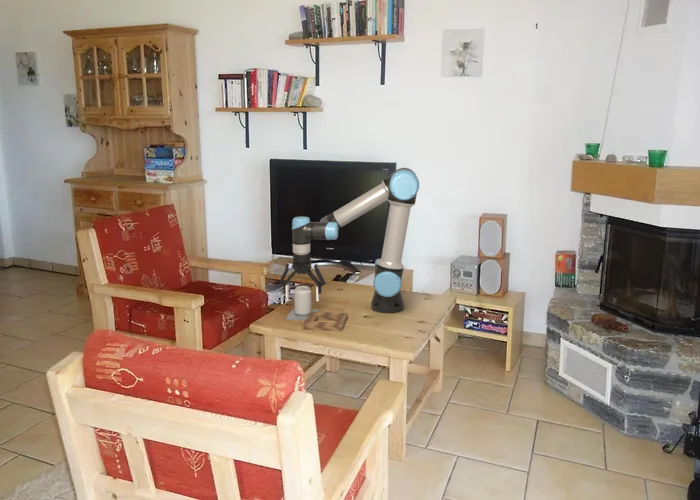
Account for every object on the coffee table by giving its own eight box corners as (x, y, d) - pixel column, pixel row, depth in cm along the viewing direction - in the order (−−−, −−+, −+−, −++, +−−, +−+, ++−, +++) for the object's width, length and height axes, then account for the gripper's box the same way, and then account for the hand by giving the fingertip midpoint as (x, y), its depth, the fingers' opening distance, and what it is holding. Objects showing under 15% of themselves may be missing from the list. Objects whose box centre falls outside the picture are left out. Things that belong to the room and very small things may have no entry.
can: (298, 317, 255) (297, 290, 252) (292, 312, 262) (291, 286, 259) (314, 314, 258) (313, 288, 256) (307, 309, 265) (307, 284, 262)
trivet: (319, 311, 265) (318, 309, 265) (313, 320, 254) (313, 318, 253) (292, 310, 267) (292, 308, 267) (286, 319, 255) (286, 317, 255)
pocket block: (347, 318, 257) (347, 313, 256) (341, 331, 241) (341, 325, 241) (311, 316, 259) (311, 311, 258) (303, 329, 243) (303, 323, 243)
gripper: (331, 251, 256) (332, 298, 261) (275, 250, 259) (277, 296, 264) (328, 255, 249) (329, 303, 253) (271, 253, 252) (272, 301, 257)
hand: (302, 300), depth 259 cm, fingers open, 13 cm apart
